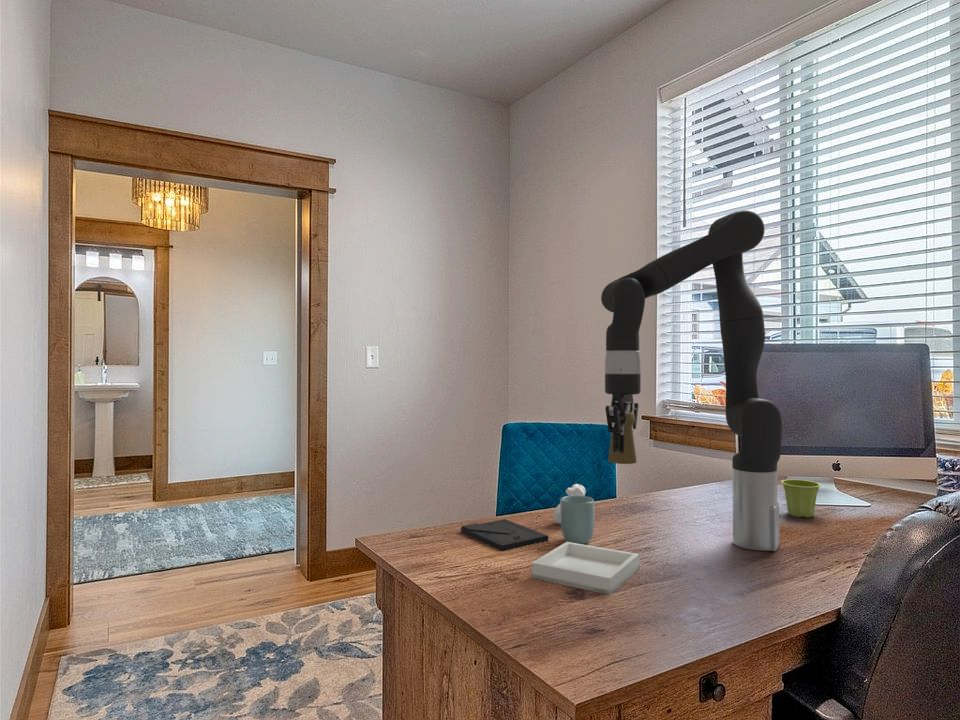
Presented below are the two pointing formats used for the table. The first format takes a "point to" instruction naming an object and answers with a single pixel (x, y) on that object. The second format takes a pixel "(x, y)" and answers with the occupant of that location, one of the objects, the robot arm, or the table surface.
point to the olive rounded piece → (625, 445)
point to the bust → (574, 491)
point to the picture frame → (503, 534)
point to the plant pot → (800, 497)
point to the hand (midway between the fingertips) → (622, 450)
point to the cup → (577, 518)
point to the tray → (586, 567)
